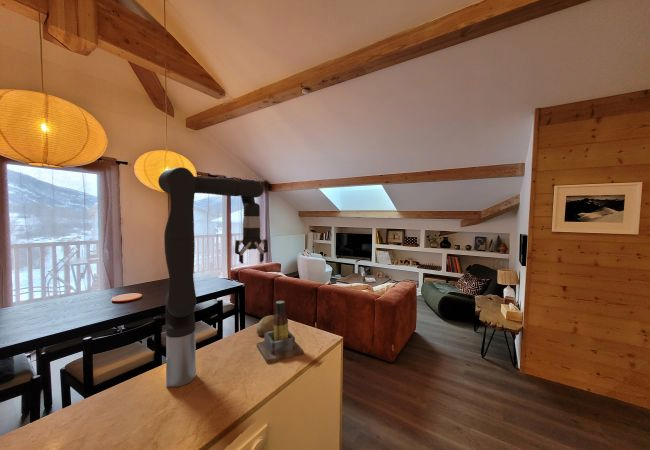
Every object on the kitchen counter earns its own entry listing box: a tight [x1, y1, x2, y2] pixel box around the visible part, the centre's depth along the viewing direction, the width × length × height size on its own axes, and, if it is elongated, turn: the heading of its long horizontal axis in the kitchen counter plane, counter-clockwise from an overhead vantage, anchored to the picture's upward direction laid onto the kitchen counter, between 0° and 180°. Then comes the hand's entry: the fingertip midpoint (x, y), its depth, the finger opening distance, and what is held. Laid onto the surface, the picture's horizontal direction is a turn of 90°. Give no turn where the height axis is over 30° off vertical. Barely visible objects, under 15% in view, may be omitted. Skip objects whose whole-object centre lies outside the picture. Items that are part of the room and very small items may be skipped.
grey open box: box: [256, 330, 304, 364], centre depth 116 cm, size 16×16×6 cm
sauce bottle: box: [274, 300, 289, 342], centre depth 116 cm, size 6×6×20 cm
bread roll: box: [256, 314, 275, 337], centre depth 134 cm, size 10×15×8 cm, turn 145°
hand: (251, 262), depth 117 cm, fingers open, 8 cm apart
